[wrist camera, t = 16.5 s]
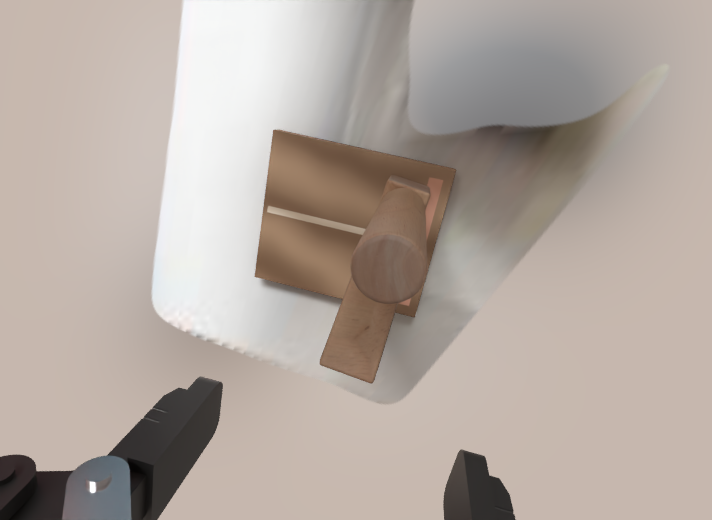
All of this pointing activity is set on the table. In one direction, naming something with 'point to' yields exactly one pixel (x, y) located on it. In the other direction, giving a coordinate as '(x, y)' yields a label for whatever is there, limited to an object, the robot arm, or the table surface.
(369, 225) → the tan cylinder-on-bar part
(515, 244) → the table surface
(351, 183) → the board
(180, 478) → the robot arm
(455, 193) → the table surface
